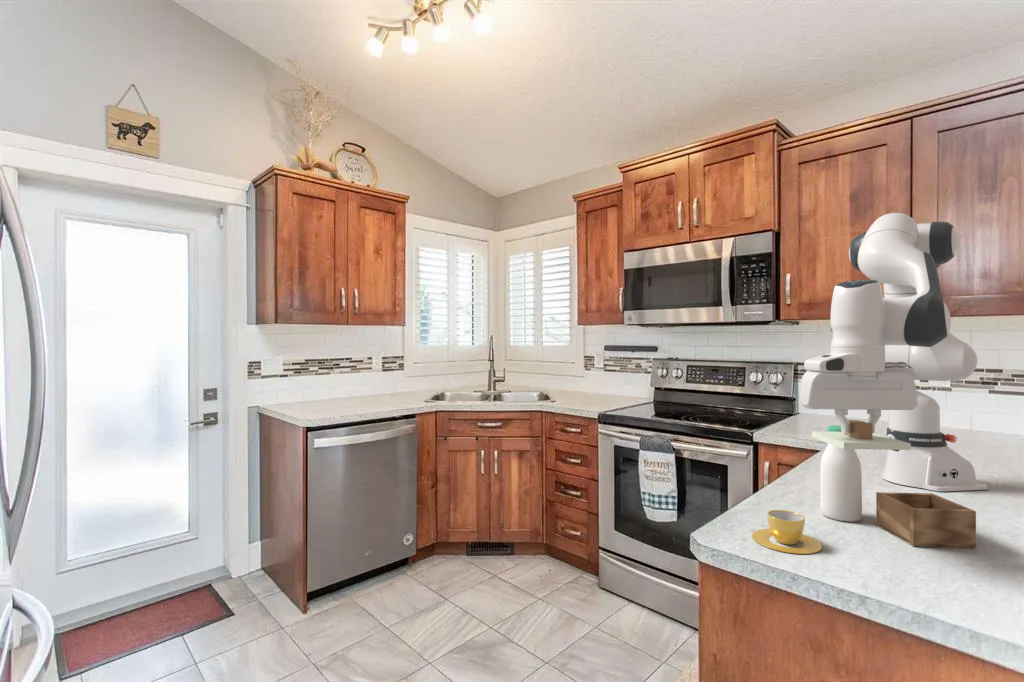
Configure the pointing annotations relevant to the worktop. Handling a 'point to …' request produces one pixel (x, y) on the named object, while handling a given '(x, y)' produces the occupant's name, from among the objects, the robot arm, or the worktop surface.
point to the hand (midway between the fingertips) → (857, 432)
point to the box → (926, 519)
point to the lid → (861, 438)
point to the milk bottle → (840, 483)
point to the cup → (786, 533)
